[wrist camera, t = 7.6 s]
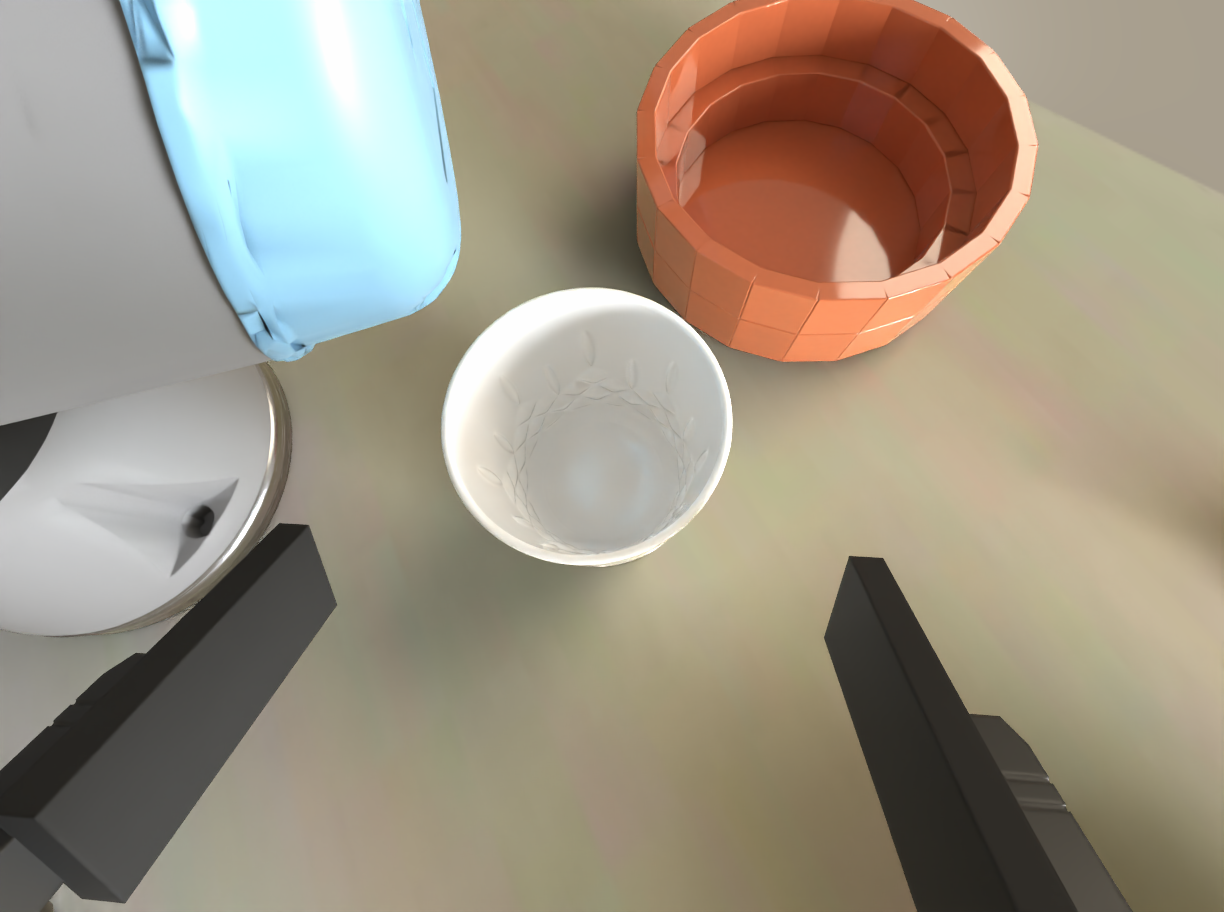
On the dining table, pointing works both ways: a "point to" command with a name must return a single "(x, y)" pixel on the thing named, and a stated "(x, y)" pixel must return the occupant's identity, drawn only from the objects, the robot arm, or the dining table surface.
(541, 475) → the white cup
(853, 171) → the terracotta bowl
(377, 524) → the dining table surface
